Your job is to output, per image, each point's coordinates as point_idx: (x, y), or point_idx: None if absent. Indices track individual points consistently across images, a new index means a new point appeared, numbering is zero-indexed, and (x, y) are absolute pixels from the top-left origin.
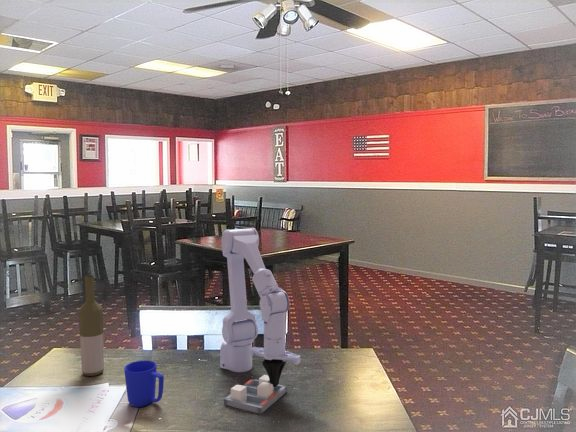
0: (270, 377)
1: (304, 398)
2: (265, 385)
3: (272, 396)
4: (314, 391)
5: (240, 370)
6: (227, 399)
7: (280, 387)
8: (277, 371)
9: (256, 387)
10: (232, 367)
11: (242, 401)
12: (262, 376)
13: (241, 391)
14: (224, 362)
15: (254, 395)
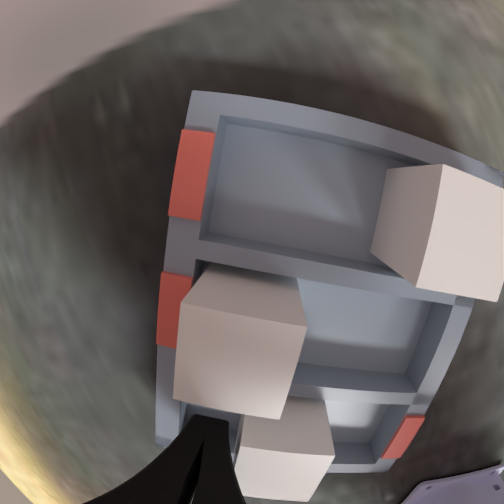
0: (214, 465)
1: (84, 388)
2: (227, 365)
3: (166, 296)
4: (86, 441)
5: (440, 498)
6: (485, 165)
7: None
8: (105, 494)
9: (352, 431)
10: (471, 493)
11: (390, 195)
12: (313, 483)
13: (433, 185)
14: (497, 495)
15: (341, 347)
